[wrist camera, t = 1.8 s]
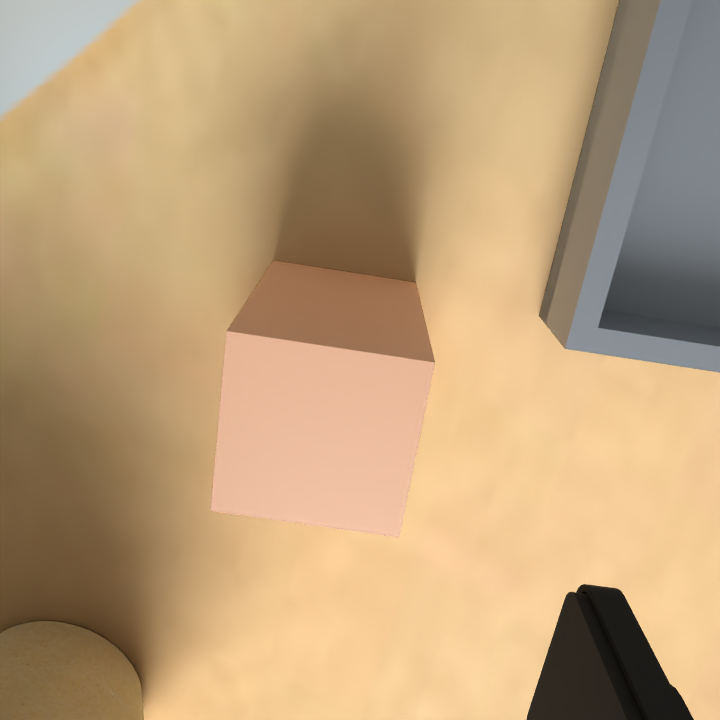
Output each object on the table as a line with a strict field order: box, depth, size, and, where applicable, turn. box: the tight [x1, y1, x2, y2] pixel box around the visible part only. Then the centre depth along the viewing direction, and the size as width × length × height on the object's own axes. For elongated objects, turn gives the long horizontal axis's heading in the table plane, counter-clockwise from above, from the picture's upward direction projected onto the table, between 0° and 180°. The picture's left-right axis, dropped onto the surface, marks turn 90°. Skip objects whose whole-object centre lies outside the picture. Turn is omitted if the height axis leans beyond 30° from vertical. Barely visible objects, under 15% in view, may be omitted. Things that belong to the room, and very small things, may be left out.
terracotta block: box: [211, 260, 435, 538], centre depth 21 cm, size 5×5×8 cm
